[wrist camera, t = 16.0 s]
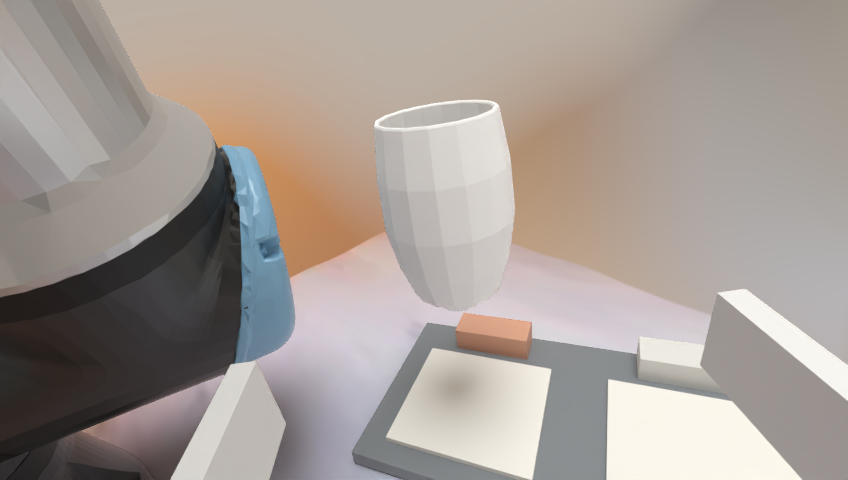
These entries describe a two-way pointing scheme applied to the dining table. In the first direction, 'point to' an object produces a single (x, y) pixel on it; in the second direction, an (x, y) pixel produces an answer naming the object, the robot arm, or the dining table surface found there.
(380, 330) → the dining table surface
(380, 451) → the coaster board
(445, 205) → the cup
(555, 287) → the dining table surface
